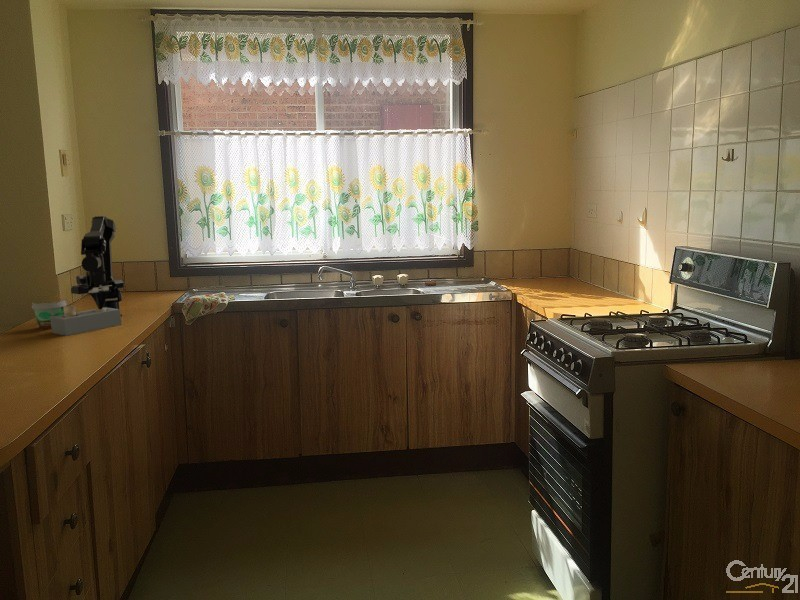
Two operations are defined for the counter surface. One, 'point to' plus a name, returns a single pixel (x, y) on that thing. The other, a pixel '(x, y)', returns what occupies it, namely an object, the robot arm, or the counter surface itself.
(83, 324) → the grey peg board
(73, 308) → the birch peg
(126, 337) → the counter surface
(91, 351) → the counter surface
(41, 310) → the food container
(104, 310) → the birch peg
